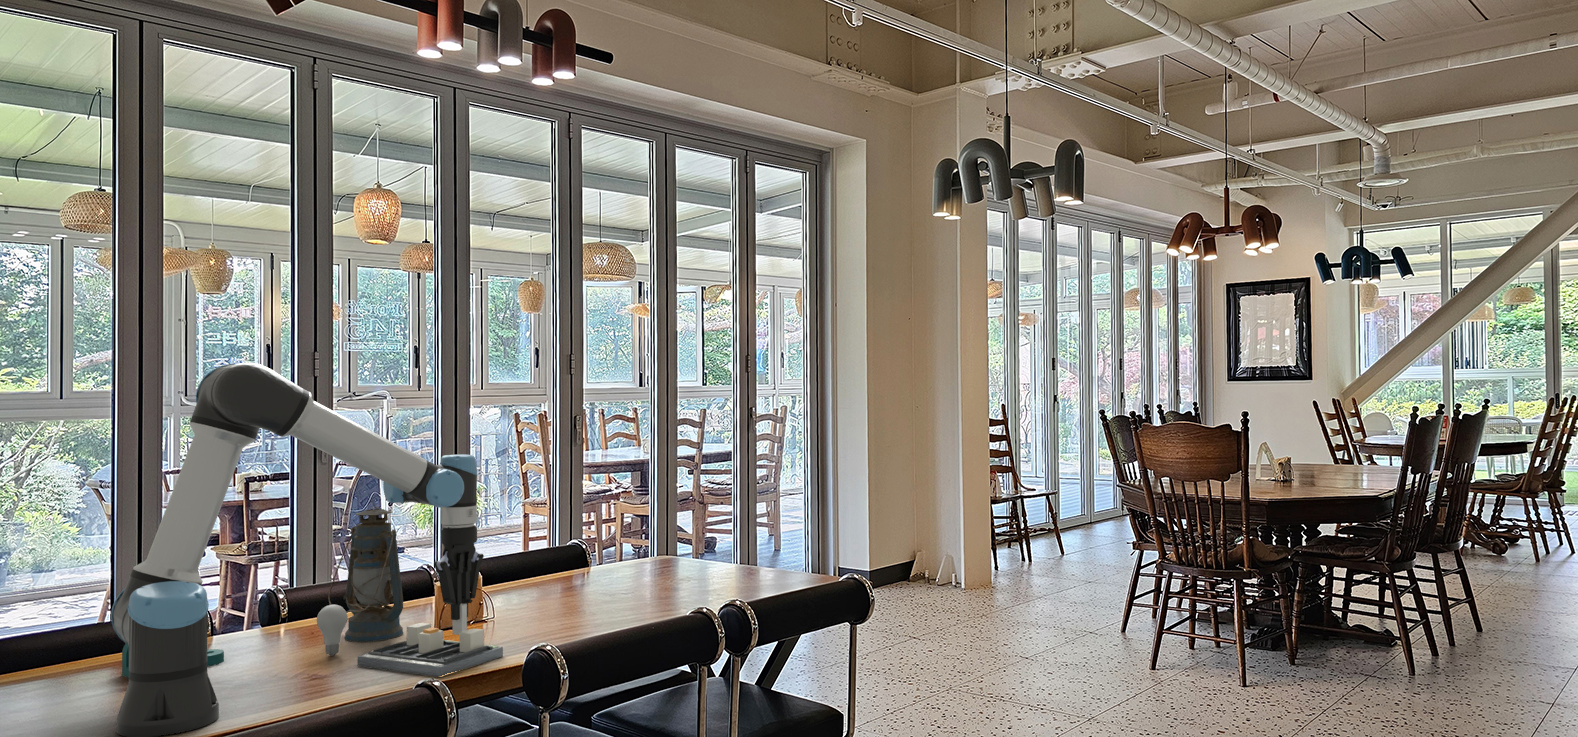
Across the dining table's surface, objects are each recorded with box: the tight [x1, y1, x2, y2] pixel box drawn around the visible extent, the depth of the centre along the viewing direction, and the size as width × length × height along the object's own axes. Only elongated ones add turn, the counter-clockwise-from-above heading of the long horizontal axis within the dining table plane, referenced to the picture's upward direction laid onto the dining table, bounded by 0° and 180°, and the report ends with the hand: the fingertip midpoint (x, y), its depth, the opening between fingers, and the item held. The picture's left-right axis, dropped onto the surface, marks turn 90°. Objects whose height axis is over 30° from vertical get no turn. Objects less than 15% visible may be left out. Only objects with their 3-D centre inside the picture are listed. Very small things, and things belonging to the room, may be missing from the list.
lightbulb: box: [316, 604, 349, 657], centre depth 225 cm, size 6×6×11 cm
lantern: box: [327, 506, 404, 643], centre depth 243 cm, size 19×14×30 cm
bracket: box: [121, 643, 225, 679], centre depth 216 cm, size 18×7×8 cm, turn 141°
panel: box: [356, 639, 504, 678], centre depth 219 cm, size 18×23×3 cm
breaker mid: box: [419, 627, 444, 653], centre depth 219 cm, size 4×3×5 cm
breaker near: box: [459, 628, 485, 652], centre depth 220 cm, size 4×3×4 cm
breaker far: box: [406, 622, 432, 645], centre depth 226 cm, size 4×3×4 cm
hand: (459, 633), depth 227 cm, fingers closed
